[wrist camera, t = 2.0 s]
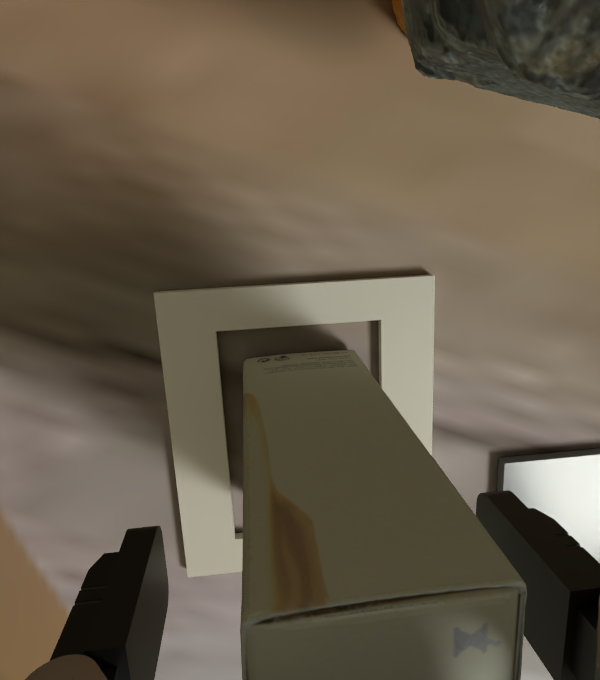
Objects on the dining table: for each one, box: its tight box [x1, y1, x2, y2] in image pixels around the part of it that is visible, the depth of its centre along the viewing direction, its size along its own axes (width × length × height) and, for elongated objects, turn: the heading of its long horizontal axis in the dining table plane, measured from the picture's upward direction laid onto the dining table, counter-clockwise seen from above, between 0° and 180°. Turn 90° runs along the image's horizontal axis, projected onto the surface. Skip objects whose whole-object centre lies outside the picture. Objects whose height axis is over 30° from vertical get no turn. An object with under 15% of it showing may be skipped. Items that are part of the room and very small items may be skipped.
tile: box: [497, 448, 600, 563], centre depth 22 cm, size 8×8×1 cm
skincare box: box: [240, 350, 527, 680], centre depth 14 cm, size 6×4×12 cm
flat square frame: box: [153, 274, 435, 577], centre depth 19 cm, size 10×12×1 cm
